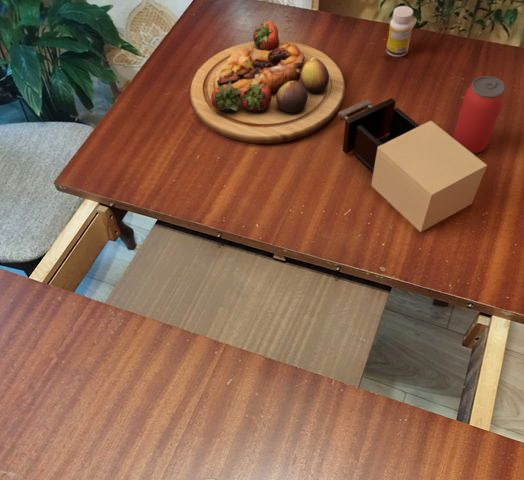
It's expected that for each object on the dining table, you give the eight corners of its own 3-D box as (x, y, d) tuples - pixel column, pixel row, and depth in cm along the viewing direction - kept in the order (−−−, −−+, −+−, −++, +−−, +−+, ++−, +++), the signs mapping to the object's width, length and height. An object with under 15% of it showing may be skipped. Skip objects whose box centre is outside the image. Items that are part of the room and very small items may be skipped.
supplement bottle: (392, 42, 120) (399, 2, 113) (411, 48, 118) (419, 8, 111) (381, 53, 118) (387, 13, 111) (401, 60, 117) (408, 20, 109)
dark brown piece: (328, 137, 104) (330, 105, 98) (371, 116, 106) (375, 84, 101) (384, 189, 96) (390, 159, 91) (429, 166, 99) (438, 135, 93)
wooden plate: (218, 41, 123) (214, 3, 116) (357, 58, 118) (362, 19, 110) (169, 133, 108) (160, 96, 101) (325, 157, 103) (328, 119, 95)
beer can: (494, 146, 102) (517, 87, 92) (468, 160, 100) (488, 103, 90) (468, 127, 105) (488, 69, 94) (443, 141, 103) (460, 83, 93)
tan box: (371, 185, 98) (377, 146, 91) (420, 160, 101) (430, 120, 94) (420, 232, 92) (431, 194, 85) (471, 203, 95) (487, 165, 88)
